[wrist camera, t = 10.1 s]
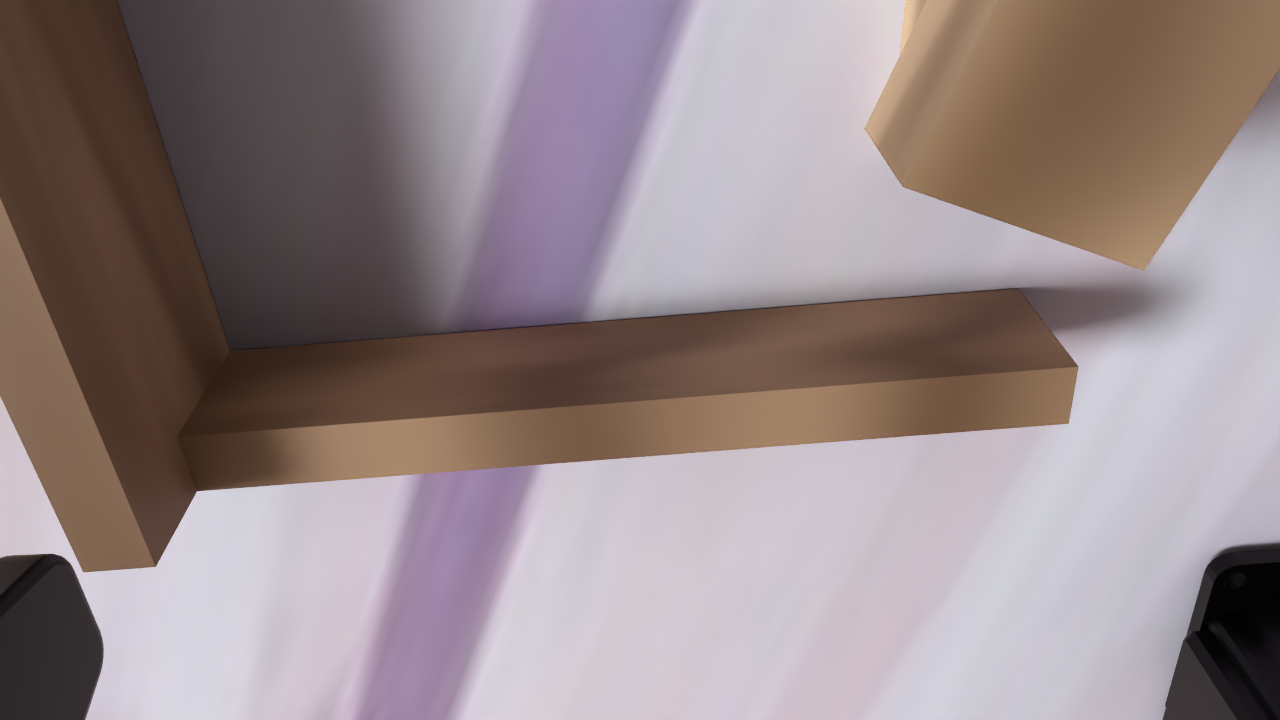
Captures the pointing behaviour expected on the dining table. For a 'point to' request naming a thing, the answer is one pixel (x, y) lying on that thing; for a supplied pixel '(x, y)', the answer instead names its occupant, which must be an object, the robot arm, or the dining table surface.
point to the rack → (392, 342)
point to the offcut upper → (1075, 110)
